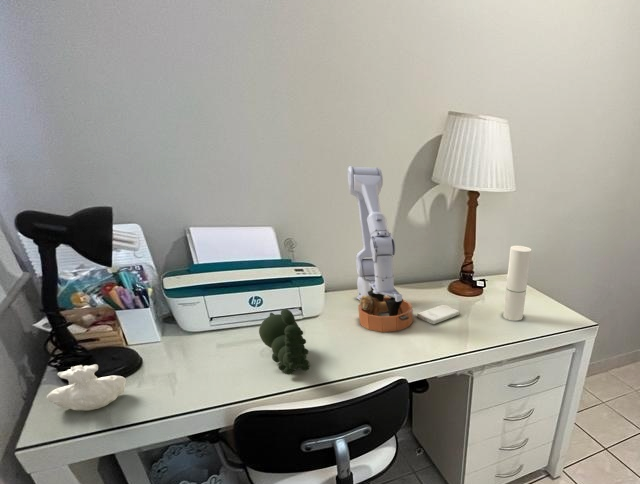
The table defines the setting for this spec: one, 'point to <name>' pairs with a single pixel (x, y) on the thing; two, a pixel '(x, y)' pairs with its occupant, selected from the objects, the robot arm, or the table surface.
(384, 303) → the lion figurine
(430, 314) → the hard drive
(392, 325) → the orange round basin
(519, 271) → the cylindrical container
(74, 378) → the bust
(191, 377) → the table surface
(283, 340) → the toy figurine
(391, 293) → the robot arm
